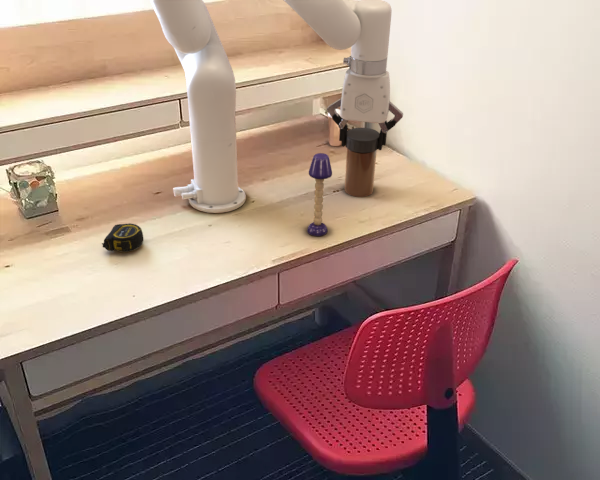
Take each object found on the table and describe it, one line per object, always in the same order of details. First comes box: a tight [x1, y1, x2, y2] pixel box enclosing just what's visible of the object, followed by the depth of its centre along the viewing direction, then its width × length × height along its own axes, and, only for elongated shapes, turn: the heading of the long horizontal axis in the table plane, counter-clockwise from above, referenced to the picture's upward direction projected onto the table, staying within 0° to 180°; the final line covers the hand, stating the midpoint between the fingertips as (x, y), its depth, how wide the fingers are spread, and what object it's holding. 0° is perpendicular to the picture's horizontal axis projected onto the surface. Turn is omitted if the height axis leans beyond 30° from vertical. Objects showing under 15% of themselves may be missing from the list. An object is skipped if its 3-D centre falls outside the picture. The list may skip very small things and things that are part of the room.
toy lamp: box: [306, 152, 333, 237], centre depth 136 cm, size 5×5×17 cm
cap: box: [344, 127, 380, 153], centre depth 150 cm, size 8×8×3 cm
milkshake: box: [327, 108, 342, 147], centre depth 175 cm, size 4×5×10 cm
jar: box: [344, 148, 378, 198], centre depth 153 cm, size 7×7×13 cm
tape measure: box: [101, 222, 144, 253], centre depth 134 cm, size 7×7×4 cm
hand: (362, 145), depth 150 cm, fingers closed on cap, 7 cm apart
